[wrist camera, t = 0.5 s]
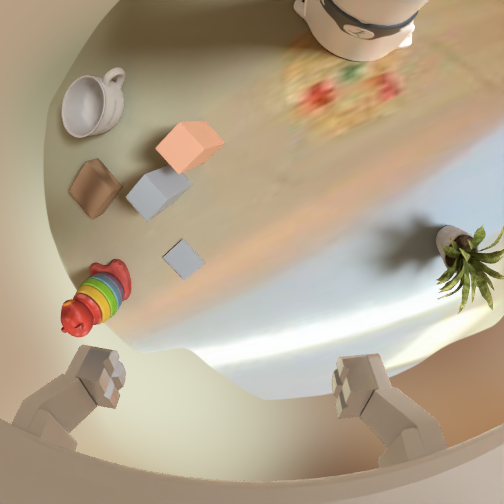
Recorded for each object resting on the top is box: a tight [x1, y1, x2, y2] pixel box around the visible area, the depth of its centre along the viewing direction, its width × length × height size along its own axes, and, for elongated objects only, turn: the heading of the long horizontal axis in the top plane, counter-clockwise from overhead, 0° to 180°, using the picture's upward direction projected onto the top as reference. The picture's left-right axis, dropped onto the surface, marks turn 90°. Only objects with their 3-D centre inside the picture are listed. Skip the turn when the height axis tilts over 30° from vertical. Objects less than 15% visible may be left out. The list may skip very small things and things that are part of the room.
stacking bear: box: [61, 260, 131, 337], centre depth 53 cm, size 11×10×18 cm
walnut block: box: [69, 158, 123, 220], centre depth 50 cm, size 8×8×4 cm
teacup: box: [62, 67, 125, 138], centre depth 40 cm, size 14×11×8 cm
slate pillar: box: [126, 165, 193, 221], centre depth 44 cm, size 5×5×10 cm
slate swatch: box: [163, 239, 205, 280], centre depth 55 cm, size 6×6×1 cm
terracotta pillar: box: [155, 121, 225, 174], centre depth 40 cm, size 5×5×10 cm
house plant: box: [436, 225, 504, 312], centre depth 36 cm, size 14×14×16 cm
